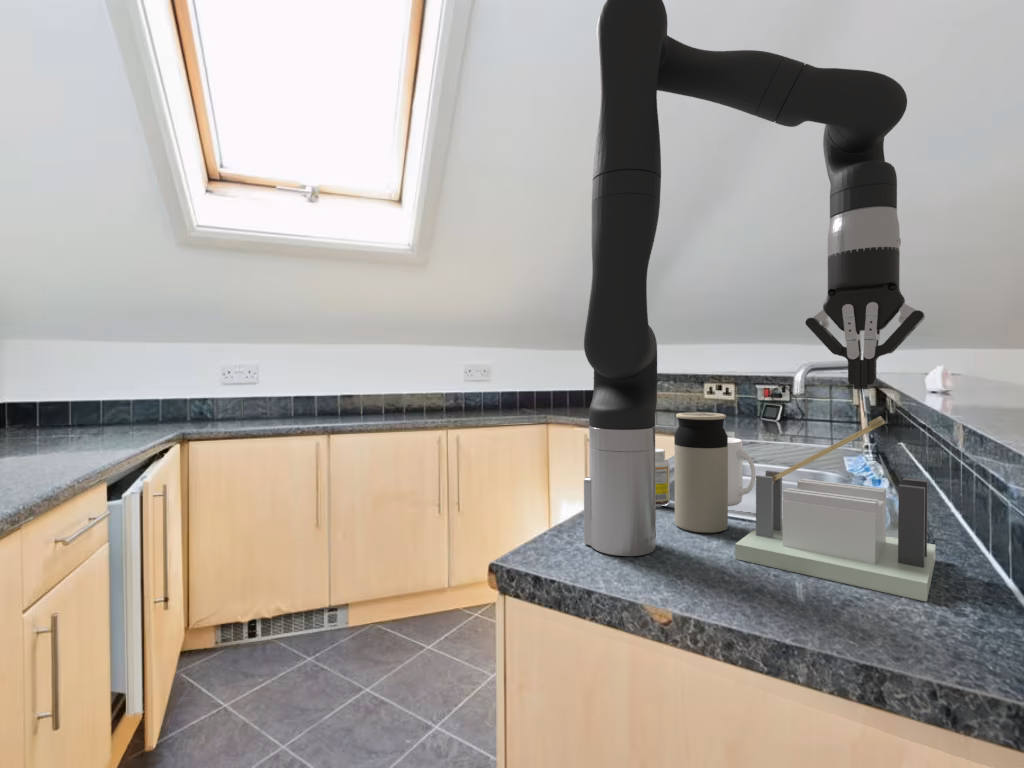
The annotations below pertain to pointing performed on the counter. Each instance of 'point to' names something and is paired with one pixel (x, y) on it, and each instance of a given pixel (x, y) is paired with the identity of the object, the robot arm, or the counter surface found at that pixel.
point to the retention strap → (831, 447)
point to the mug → (737, 471)
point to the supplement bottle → (662, 478)
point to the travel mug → (701, 472)
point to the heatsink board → (843, 567)
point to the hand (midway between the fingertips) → (862, 388)
